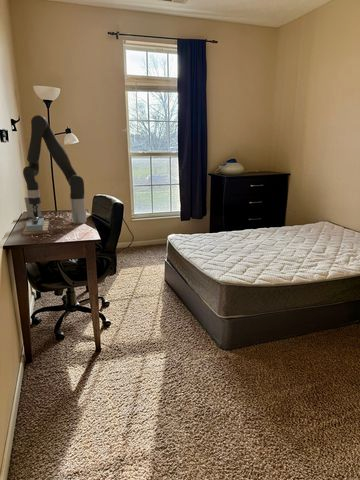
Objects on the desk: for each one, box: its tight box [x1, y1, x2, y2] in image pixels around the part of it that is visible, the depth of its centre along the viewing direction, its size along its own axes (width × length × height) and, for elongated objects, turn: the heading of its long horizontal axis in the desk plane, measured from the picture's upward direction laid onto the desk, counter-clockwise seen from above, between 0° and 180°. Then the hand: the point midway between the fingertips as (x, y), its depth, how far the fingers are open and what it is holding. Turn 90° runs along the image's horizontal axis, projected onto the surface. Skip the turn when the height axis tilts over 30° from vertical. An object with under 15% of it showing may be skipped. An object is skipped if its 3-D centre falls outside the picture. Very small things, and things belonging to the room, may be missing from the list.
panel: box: [25, 217, 45, 232], centre depth 208 cm, size 21×9×4 cm, turn 20°
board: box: [22, 219, 50, 235], centre depth 213 cm, size 30×14×2 cm, turn 20°
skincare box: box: [24, 196, 43, 219], centre depth 243 cm, size 8×7×16 cm
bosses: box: [32, 217, 40, 225], centre depth 211 cm, size 12×4×5 cm, turn 20°
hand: (37, 221), depth 220 cm, fingers closed
